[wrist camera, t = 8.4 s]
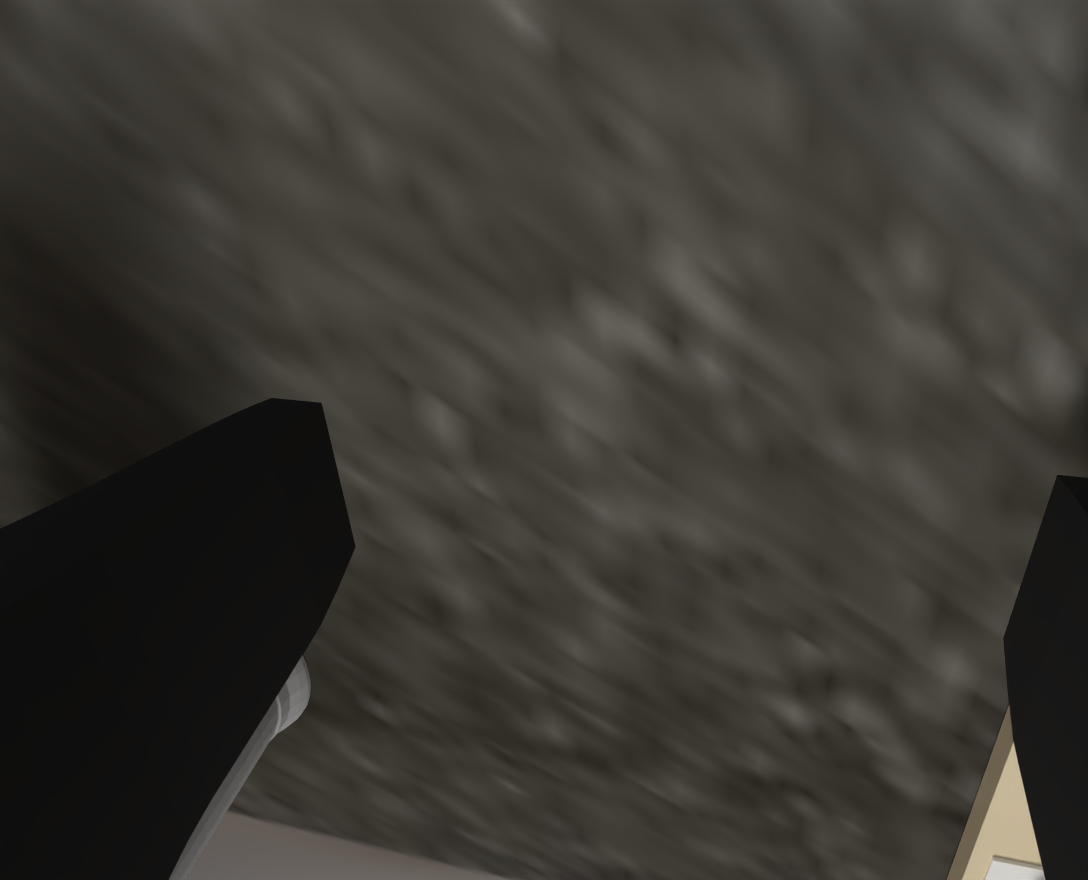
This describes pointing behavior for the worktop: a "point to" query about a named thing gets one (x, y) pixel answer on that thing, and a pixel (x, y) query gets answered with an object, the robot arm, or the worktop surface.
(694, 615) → the worktop surface
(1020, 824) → the board
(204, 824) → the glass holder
